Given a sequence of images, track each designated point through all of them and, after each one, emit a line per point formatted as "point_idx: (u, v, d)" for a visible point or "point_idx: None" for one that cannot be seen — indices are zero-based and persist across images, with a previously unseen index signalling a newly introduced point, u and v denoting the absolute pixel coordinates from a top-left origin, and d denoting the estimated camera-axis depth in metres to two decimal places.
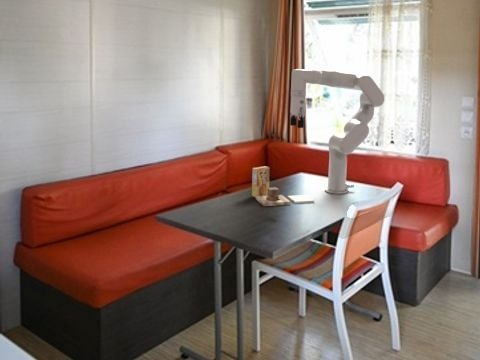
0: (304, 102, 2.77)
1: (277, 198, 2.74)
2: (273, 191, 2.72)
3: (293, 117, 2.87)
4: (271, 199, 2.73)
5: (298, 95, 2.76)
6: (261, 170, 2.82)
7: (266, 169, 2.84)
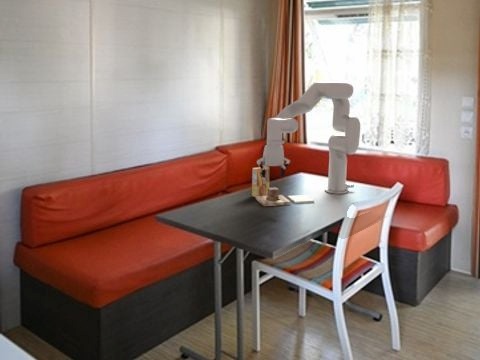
0: None
1: (277, 198, 2.74)
2: (273, 191, 2.72)
3: None
4: (271, 199, 2.73)
5: (281, 144, 2.69)
6: (261, 170, 2.82)
7: (266, 169, 2.84)
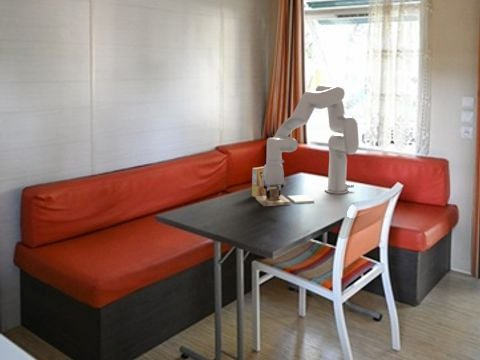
0: None
1: (277, 198, 2.74)
2: (273, 191, 2.72)
3: (268, 188, 2.74)
4: (271, 199, 2.73)
5: (281, 163, 2.71)
6: (261, 170, 2.82)
7: None
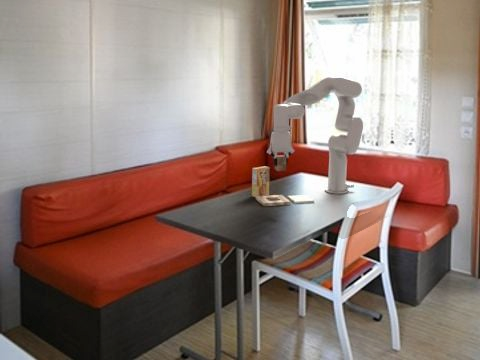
0: None
1: (285, 166, 2.71)
2: (280, 159, 2.70)
3: None
4: (278, 167, 2.70)
5: (288, 130, 2.68)
6: (261, 170, 2.82)
7: (266, 169, 2.84)
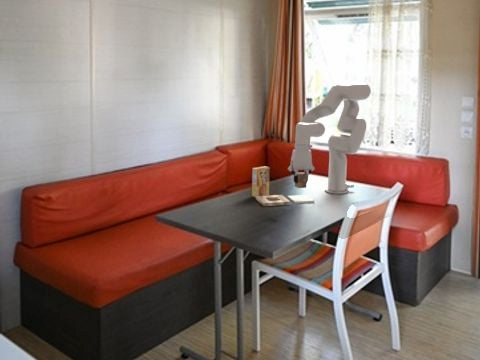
0: None
1: (305, 183, 2.76)
2: (301, 176, 2.74)
3: (296, 173, 2.76)
4: (299, 184, 2.75)
5: (309, 149, 2.73)
6: (261, 170, 2.82)
7: (266, 169, 2.84)
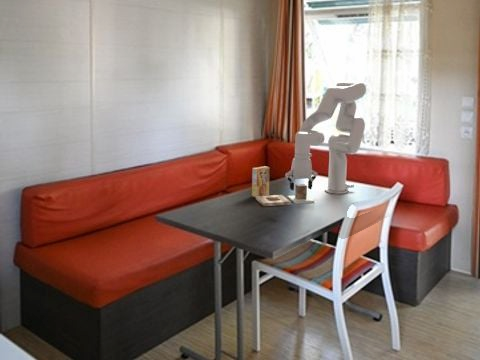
0: None
1: (305, 194, 2.77)
2: (301, 187, 2.76)
3: None
4: (299, 195, 2.77)
5: (309, 157, 2.74)
6: (261, 170, 2.82)
7: (266, 169, 2.84)
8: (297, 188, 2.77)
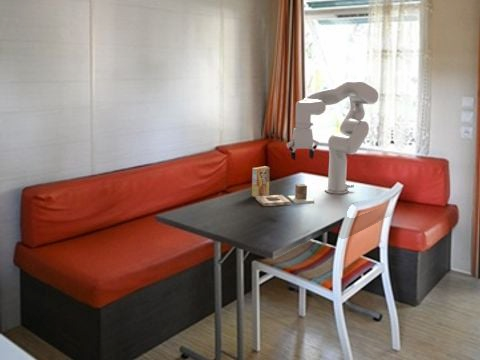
0: None
1: (305, 194, 2.77)
2: (301, 187, 2.76)
3: None
4: (299, 195, 2.77)
5: None
6: (261, 170, 2.82)
7: (266, 169, 2.84)
8: (297, 188, 2.77)
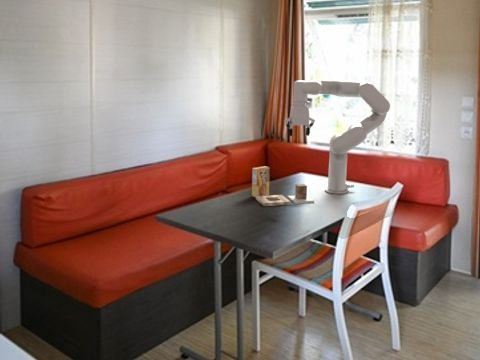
0: None
1: (305, 194, 2.77)
2: (301, 187, 2.76)
3: None
4: (299, 195, 2.77)
5: (307, 105, 2.90)
6: (261, 170, 2.82)
7: (266, 169, 2.84)
8: (297, 188, 2.77)
